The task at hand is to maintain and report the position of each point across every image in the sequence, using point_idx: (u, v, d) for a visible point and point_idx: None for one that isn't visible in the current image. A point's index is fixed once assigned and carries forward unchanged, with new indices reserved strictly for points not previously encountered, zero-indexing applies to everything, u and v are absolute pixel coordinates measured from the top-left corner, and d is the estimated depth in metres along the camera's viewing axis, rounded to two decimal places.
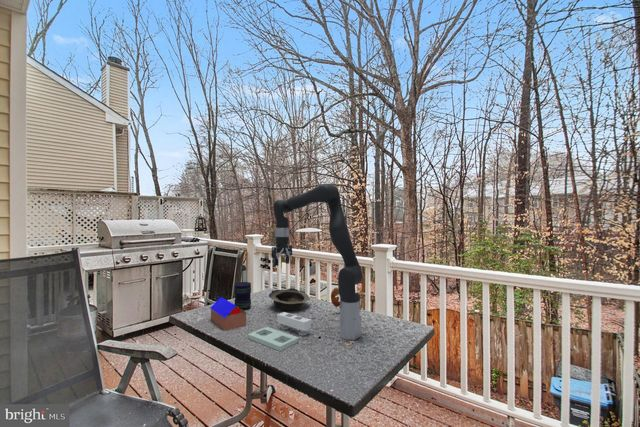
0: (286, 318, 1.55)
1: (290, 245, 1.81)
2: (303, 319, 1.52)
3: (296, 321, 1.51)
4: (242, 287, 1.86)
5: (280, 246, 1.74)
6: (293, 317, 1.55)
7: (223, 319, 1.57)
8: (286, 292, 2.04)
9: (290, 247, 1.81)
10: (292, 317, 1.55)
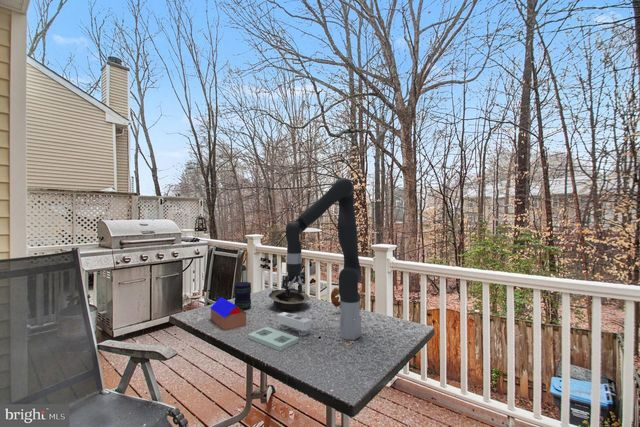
0: (286, 318, 1.55)
1: (303, 272, 1.60)
2: (303, 319, 1.52)
3: (296, 321, 1.51)
4: (242, 287, 1.86)
5: (292, 274, 1.53)
6: (293, 317, 1.55)
7: (223, 319, 1.57)
8: None
9: (303, 274, 1.60)
10: (292, 317, 1.55)
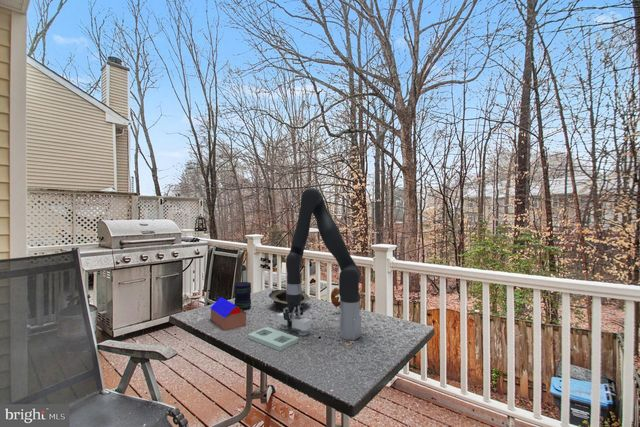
0: None
1: (303, 303, 1.60)
2: (303, 319, 1.52)
3: (296, 321, 1.51)
4: (242, 287, 1.86)
5: (292, 305, 1.53)
6: (293, 317, 1.55)
7: (223, 319, 1.57)
8: None
9: (302, 305, 1.59)
10: (292, 317, 1.55)
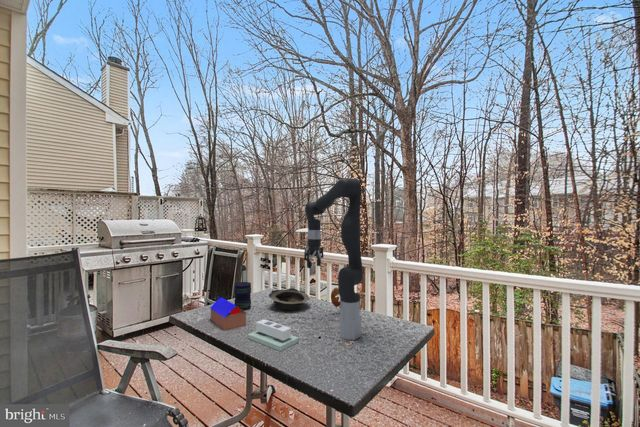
0: (265, 326, 1.45)
1: (321, 247, 1.80)
2: (283, 327, 1.41)
3: (275, 330, 1.40)
4: (242, 287, 1.86)
5: (312, 248, 1.73)
6: (272, 325, 1.44)
7: (223, 319, 1.57)
8: (286, 292, 2.04)
9: (321, 249, 1.80)
10: (271, 325, 1.44)
